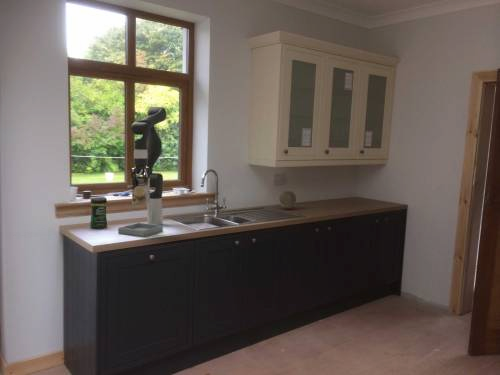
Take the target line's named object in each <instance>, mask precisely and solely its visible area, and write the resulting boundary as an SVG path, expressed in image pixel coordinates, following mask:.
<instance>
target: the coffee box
mask: <svg viewBox="0 0 500 375" xmlns="http://www.w3.org/2000/svg"><path fill="white" fill-rule="evenodd" d="M136 177H137V176H136ZM131 184H132V189H131V190H132V191H131V192H132V193H131V194H132V196H131V198H132V199H131V203H132V205H134V206H135V205H139V206H140V205H142V206H147V205H148V204H149V203H150V193H151V187H150V177H147V176H142V175H140V176H139V178H138V186H134V179H132V181H131Z"/></svg>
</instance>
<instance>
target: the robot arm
mask: <svg viewBox="0 0 500 375" xmlns="http://www.w3.org/2000/svg"><path fill="white" fill-rule="evenodd" d="M166 118H167V110H166V108H165V107H162V106H150V107H148V109H147V116H145V117H143V118H142V119H140V120H137V121H134V122H133V123H132V124H131V126H130V131H131V133H132V134H133V135H136V136H142V137H141V138H137V139H135V140H134V148H133V149H134V151H133V165H134V167H131V169H130V171H131V172H130V178H131V179H134V186H138V178H139V176H147V177H150V188H155V190H154V191H152V192H151V191H150V203H149V204H148V205H146V209H147V211H146V215H147V216H146V224H153V225H161V226H162V225H163V222H164V221H163V212H164V211H163V191H164V190H163V188H164V187H163V186H164V176H163V174H162V173H159V172H153V169H154V166H155V163H156V162H157V161H158V159H159V158H160V157H161V154H162V153H163V152H162V151H163V148H162V147H163V142H162V140H161V139H162V138H160V136H159V134H158V132H157V130H156V128H155V126H156V125H158V124H159V123H162V122H164V121H166ZM136 176H137V177H136Z"/></svg>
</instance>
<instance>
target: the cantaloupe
mask: <svg viewBox="0 0 500 375" xmlns="http://www.w3.org/2000/svg"><path fill="white" fill-rule="evenodd" d="M296 202H297V196H296V193H294V192H293V191H289V190H284V191H282V192H281V193H280V195H279V204H280V206H281V207H283V209H285V210H291V209H292V208H294V207H295V205H296Z"/></svg>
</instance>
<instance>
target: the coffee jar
mask: <svg viewBox="0 0 500 375" xmlns="http://www.w3.org/2000/svg"><path fill="white" fill-rule="evenodd" d="M107 200H108V199H107V197H99V196H96V197H95V196H94V197H91V199H90V202H89V203H90V206H91V207H90V208H91V216H90V228H91V229H92V228H93V229H103V228H106V227H107V226H108V220H107V219H108V218H107V206H108V201H107Z"/></svg>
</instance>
